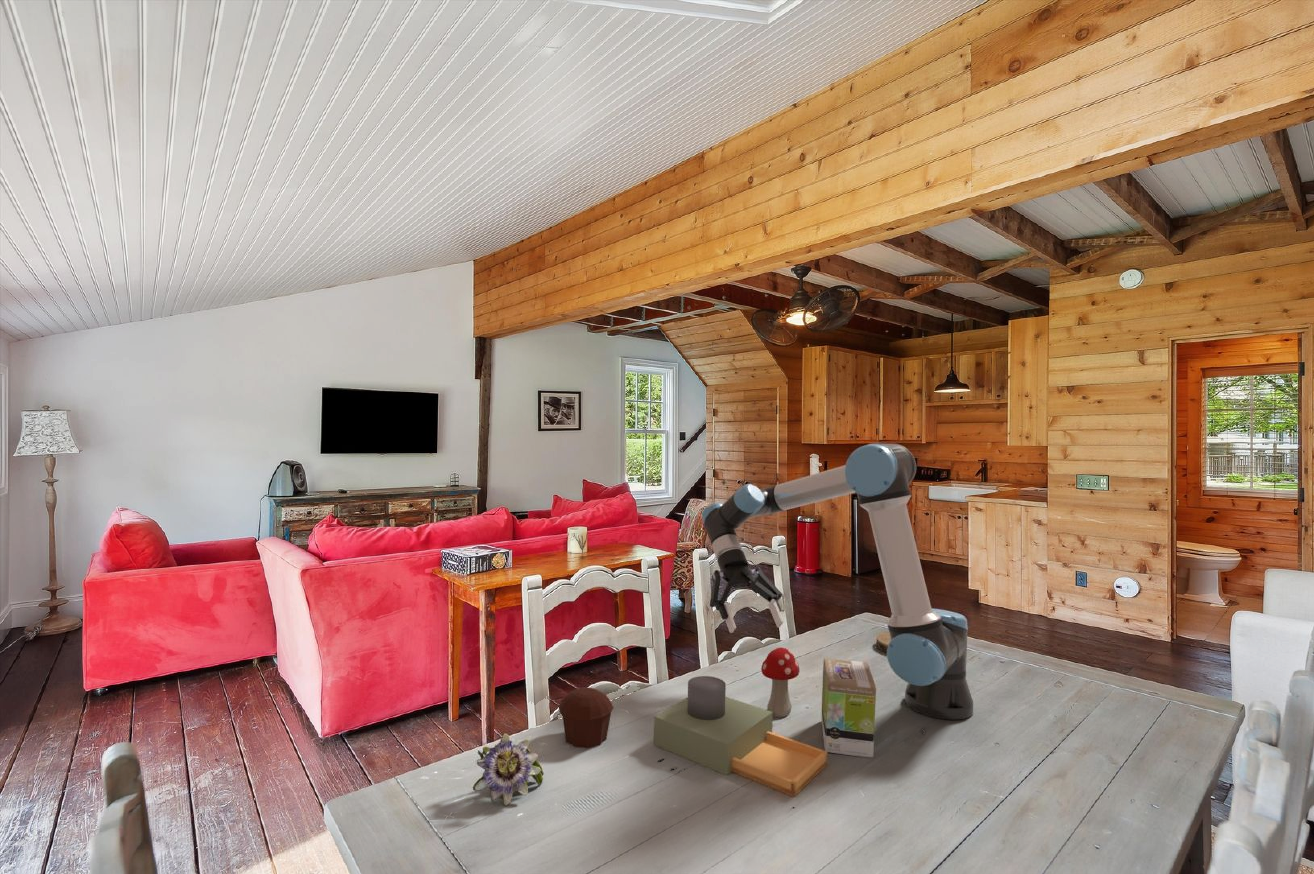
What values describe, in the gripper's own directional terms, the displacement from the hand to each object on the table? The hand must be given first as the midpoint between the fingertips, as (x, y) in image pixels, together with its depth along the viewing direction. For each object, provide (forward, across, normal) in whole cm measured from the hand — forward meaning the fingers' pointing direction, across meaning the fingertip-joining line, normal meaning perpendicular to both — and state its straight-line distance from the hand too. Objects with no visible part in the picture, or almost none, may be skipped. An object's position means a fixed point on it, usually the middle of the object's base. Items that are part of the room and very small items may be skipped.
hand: (757, 627), depth 160 cm
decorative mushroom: (+20, 0, -4) cm, 20 cm away
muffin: (+17, +46, -7) cm, 49 cm away
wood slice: (+3, -59, -21) cm, 63 cm away
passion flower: (+27, +64, +3) cm, 70 cm away
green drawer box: (+29, +18, +5) cm, 34 cm away
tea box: (+31, -7, +7) cm, 32 cm away
